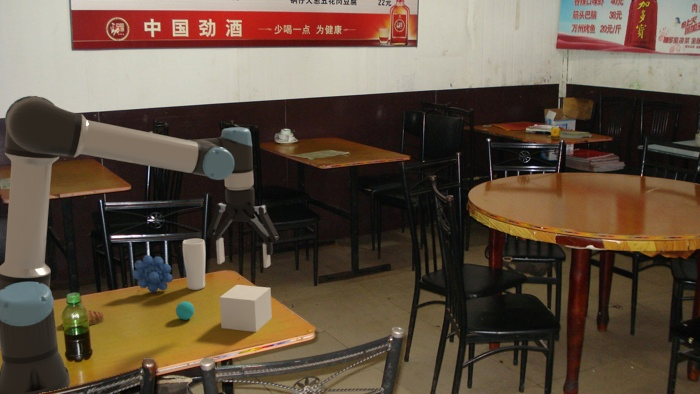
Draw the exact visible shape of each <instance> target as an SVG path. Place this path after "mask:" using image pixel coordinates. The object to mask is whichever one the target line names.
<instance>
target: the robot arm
mask: <svg viewBox="0 0 700 394" xmlns="http://www.w3.org/2000/svg"><path fill="white" fill-rule="evenodd" d="M4 122H5V123H4V124H5V127H6V128H5V129H6V131H5V142H4V143H5V145H4V155H5V156H7V158H8V159H9V160H10V161H11V163H10V165H11V166H10V182H9V195H8V209H7V210H8V212H7V226H6V237H5V238H6V240H5V255H4V262H3V263H2V264H1V265H0V354H1V365H0V394H39V393H42V392H49V391H54V390H58V389H62V388H65V387H67V388H68V387H69V386H70V385H71V377H70V372H69V370H68V368H67V367H66V366H65V365H66V364H65V362H64V360H63V358H62V356H61V354H60V352H59V346H58V345H59V344H58V338H57V327H56V319H55V311H54V305H55V301H54V297H53V295H52V293H53V292H52V291H51V289H50V284H51V268H50V267H49V266H48V265H47V264H46V263H45V259H46V247H47V246H46V245H47V232H48V218H49V209H50V208H49V205H50V193H51V178H52V168H53V167H52V165H53V163H55V162H56V161H58V160H59V158H60V156H64V157H70V158H76V157H78V156H79V155H85V156H92V157H97V158H103V159H107V160H115V161H119V162H126V163H131V164H136V165H142V166H149V167H154V168H160V169H165V170H170V171H177V172H183V173H190V174H193V175H197V176H198V175H199V176H204V177H207V178H209V179H211V180H217V181H221V180H224V186H225V189H224V191H225V192H224V193H225V195H224V196H225V202H226V204H225V203H223V202H219V203H217V204H215V207H214V208H215V209H214V213H213V214H214V215H213V217H212V219H211V222H210V224H209V226H208V229H207V231H206V234H205V237H207V238H211V239H212V241H213V250H214V252H216V258H217V261H216V263H217V264H218V265H222V263H224V262H225V259H226V257H225V246H224V245H225V244H224V237H222V235H223V234H224V233H225V231H226V230H227V229H228V227H230V225H231V223H232V222H235V223H239V222H241V223H248V225H250V226H251V227H252V228H253V230H255V232H256V233H257V234H258V236H260V237H261V239H262V241H264V242H263V243H262V254H263V255H262V258H263V259H262V260H263V268H264V269H266V268H268V267H270V266H271V265H272V263H271V255H273V253H274V247H273V246H274V245H273V244H274V243H275V242H276V241H278V240H279V239H280V236H279V233H278V231H277V230H276V228H275V226H274V224H273V221H272V220H271V218H270V216H269V213H268V209H267V206H266V204H262V205H260V206H256V203H255V188H254V181H255V179H254V168H253V167H254V165H253V143H252V134H251V131H250V129H249V128H246V127H239V126H238V127H236V126H235V127H228V128H223V129H222V130H221V135H220V136H219V137H213V138H210V137H209V138H200V139H199V138H198V139H183V138H179V137H173V136H168V135H163V134H158V133H153V132H148V131H143V130H138V129H133V128H128V127H123V126H119V125H113V124H109V123H104V122H98V121H93V120H89V119H86V117H85V116H84V115H83V114H82V113H77V112H72V111H69V110H67V109H64V108H61V107H59V106H56V105H55V103H53V102H52V101H51V100H49V99H48V98H46V97H41V96H37V95H28V96H23V97H21V98H20V97H19V98H18V99H16V100H14V102H13V103H11V104H10V105H9V106H8V109H7V111H6V112H5V117H4ZM225 211H226V213H227V214H228V215H227V217H225V219H224V221H223V222H222V223H221V225H220V226H219V228H218V225H219V224H220V220H221V218H222V216H223V214H224V212H225ZM256 212H257V215H259V218H260V220H261V221H259V218H258V216H257V215H256V214H255V213H256ZM261 222H262V223H261Z"/></svg>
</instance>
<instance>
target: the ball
mask: <svg viewBox="0 0 700 394" xmlns="http://www.w3.org/2000/svg"><path fill="white" fill-rule="evenodd" d="M175 314H176V316H177V317H178V319H181V320H184V321H185V320H187V321H188V320H189V319H191V318H192V317H193V315H194V314H195V307H194V305H193V304H192V303H191V302H189V301H181V302H179V304H177V306H176V307H175Z"/></svg>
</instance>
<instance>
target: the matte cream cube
mask: <svg viewBox="0 0 700 394" xmlns="http://www.w3.org/2000/svg"><path fill="white" fill-rule="evenodd" d="M271 288H272V287H268V286H267V287H264V286H253V285H243V284H236V285H234V286H233V287H232V288H230V289H229V290H227V291H226V292H225V293H223V294H222V295H221V296H219V306H220V323H221V324H220V325H221V329H227V330H233V331H234V330H236V331H242V332H243V331H245V332H252V333H254V332H255V333H257V332H258V331H259V330H260V329H262V327H263V326H265V325H266V324H267V323H268V322H269V321H270V320H271V319H272V318H273V315H272V313H273V312H272V294H271V292H272V291H271Z"/></svg>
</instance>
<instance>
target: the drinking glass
mask: <svg viewBox="0 0 700 394" xmlns="http://www.w3.org/2000/svg"><path fill="white" fill-rule="evenodd" d="M182 256H183V262H184V267H185V268H184V269H185V275H186V282H187V288H188V289H189V290H191V291H192V290H193V291H198V290H202V289H203V288H205V286H206V242H205V240H204V238H203V239H202V238H198V237H197V238H188V239H185V240H183V241H182Z"/></svg>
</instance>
